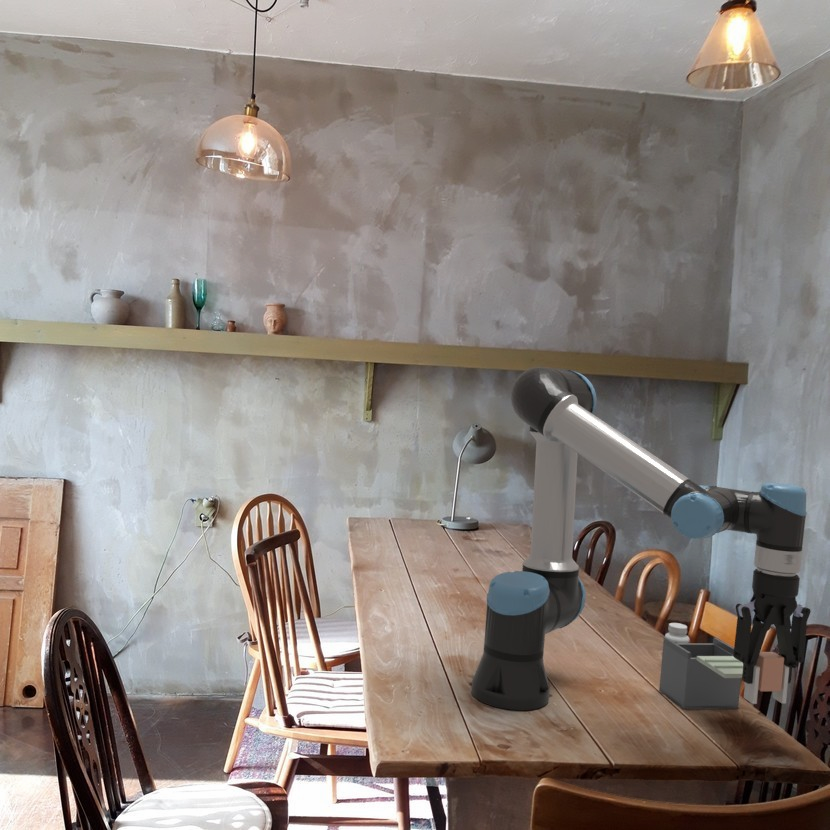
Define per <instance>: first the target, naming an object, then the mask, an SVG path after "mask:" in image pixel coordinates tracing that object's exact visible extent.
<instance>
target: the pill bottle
mask: <svg viewBox="0 0 830 830" xmlns="http://www.w3.org/2000/svg"><path fill="white" fill-rule="evenodd" d="M667 629H668V632H667V633H665V635H664V637H667V638H668V639H670V640H671V641H673V642H674V643H691V641H690V640H691V639H690V637H689V636H688V635H687V633H688V626H687V625H686V624H683V623H679V622H671V623H668V628H667Z"/></svg>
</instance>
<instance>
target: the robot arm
mask: <svg viewBox="0 0 830 830" xmlns="http://www.w3.org/2000/svg"><path fill="white" fill-rule="evenodd" d="M511 387H512V388H511V391H510V401H511V406H512V409H513V412H514V413H515V414H516V416H517V417H518V418H519V419H520V420H521V421H522V422H523V423H525V424H526V425H528V426H529V434H530V435H531V436H532V437H533V438H534V439H535V441H536V443H535V445H536V446H535V461H534V462H535V465H534V481H533V483H534V484H533V503H532V519H531V520H532V521H531V541H530V554H529V555H528V556H527V557H526V559H524V560H523V561H522V569H521V570H515V571H505V572H502V573H499V574H497V575H495V576H494V577H493V578H492V579H491V580H490V582H489V584H488V592H487V595H486V610H485V611H486V613H485V627H484V642H483V643H484V644H483V651H482V652H483V653H482V656H481V657H480V660H479V662H478V665H477V667H476V670H475V673H474V675H473V677H472V679H471V694H472V696H474V698H475V699H477V700H478V701H480V702H481V703H483V704H486V705H489V706H492V707H495V708H498V709H499V708H500V709H505V710H513V711H531V710H536V709H541V708H543V707H545V706H547V705H548V703H549V701H550V690H551V689H550V684H549V681H548V676H547V672H546V671H547V670H546V668H545V664H544V663H545V662H544V650H545V642H546V641H545V638H546V635H547V634H549V633H551V632H553V631H555V630H558V629H562V628H565V627H567V626H569V625H570V624H572V622H573V621H575V620H577V619H578V617H579V616H580V615H581V614H582V612H583V610H584V607H585V605H586V598H587V596H586V590H585V589H586V588H585V586H584V583H583V582H582V581H581V579H580V577H579V576H580V575H579V572H580V567H579V564H577V562H576V561H575V560H574V558H573V546H574V545H573V544H574V528H575V527H574V526H575V511H576V510H575V509H576V491H577V490H576V489H577V476H578V475H577V472H578V454H579V455H580V456H581V457H583V458H584V459H585V460H587V461H588V462H590V464H592V465H593V466H595V467H597V468H598V469H600V470H601V471H602V472H604V473H605V474H606V475H608V476H609V477H611V478H612V479H614V480H615V481H617V482H618V483H619V484H621V485H623V486H624V487H625V488H626V489H628V490H629V491H630V492H632V493H633V494H635V495H636V496H638V497H639V498H641V499H642V500H643V501H645V502H646V503H648V504H649V505H650V506H652V507H654V508H655V509H656V510H658V511H659V512H660V513H662V514H664V516H667V518H669V519H670V520H671V522H672V525H673V526H674V528H675V529H676V531H677V532H678V533H679V534H681V535H682V536H683V537H686V538H689V539H692V540H693V539H698V540H700V539H706V538H711V537H713V536H714V535H716V534H719V533H721V532H724V531H731V532H733V531H734V532H739V533H746V534H754V535H756V543H755V551H754V560H753V565H754V567H756V568H755V569H754V570H753V574H752V583H751V587H752V593H753V594H752V596H751V599H750V601H749V602H747V603H745V604H741V603H737V604H736V605H735V611H736V615H737V619H736V629H735V637H734V645H733V648H734V654H733V656H734V658H736V659H737V660H739V661H741V662H742V663H743V673H742V678H741V681H742V682H744V690H743V699H744V700H746V701H747V702H750V703H751V704H752V705H757V704H758V693H759V690H758V684H759V673H760V667H758V666H757V665H756V663H757V660H758V657H759V654H760V652H762V648H763V644H764V641H765V638H766V635H767V633H768V631H770V630H771V628H772V627H771V626H774V627H775V632H776V638H777V646H778V647H777V648H778V653H779V654H778V655H780V656H782V657H784V665H783V676H782V686H781V691H772V699H773V700H775V701H777V702H779V703H781V704H782V705H783V704H787V698H788V697H787V696H788V684H791V682H792V677H793V676H792V675H793V669H796V668H797V667H798V663H800V664H802V663H804V661H805V652H806V651H805V650H806V649H805V648H806V637H807V624H808V620H809V617H810V615H811V611H812V610H811V609H810V608H809V607H808V606H807V607H806V606H803V605H801V604H798V602H797V597H798V595H799V588H800V579H801V577H800V576H799V575H798V574H799V573H800V572H801V565H802V559H803V558H802V557H803V545H804V535H805V525H806V517H807V514H808V513H807V491H806V489H805V488H803V487H801V486H799V485H796V484H790V483H779V482H764V483H763V484H762V485H761V487H760V490H759V491H747V490H739V489H734V488H727V487H721V486H717V485H702V484H701V485H699V484H697V483H696V482H694V481H693V480H691V479H690V478H689V477H687V476H686V475H684V474H683V473H681V472H679V471H678V470H677V469H675V468H674V467H672V466H671V465H669V464H667V463H666V462H665V461H663V460H662V459H661V458H659V457H657V456H655V454H653V453H651V452H650V451H648V450H647V449H645V448H644V447H643V446H641V445H639V443H636V442H635V441H633V440H632V439H631V438H629V437H627V436H626V435H624V434H623V433H622V432H620V431H619V430H617V429H616V428H614V427H613V426H612V425H610V424H608V423H607V422H605V421H603V420H602V419H601V418H599V417H598V416H596V415H595V414H594V413H595V411H596V409H597V393H596V389H595V387H594V385H593V383H592V381H590V380H589V379H588V378H587V377H586V376H585V375H583V374H581V373H580V372H577V371H574V370H572V369H566V368H553V367H547V366H536V367H531V368H529V369H527V370H525V371H523V372H522V373H520V374H519V376H518V377H517V378H516V380H515V381H514V382H513V385H512V386H511Z"/></svg>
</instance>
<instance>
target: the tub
mask: <svg viewBox="0 0 830 830" xmlns="http://www.w3.org/2000/svg"><path fill="white" fill-rule="evenodd" d="M661 653H662V656H661V664H660V665H661V666H660V675H659V678H660V679H659V690H658V691H659V692H660V693H661V694H662V695H664V696H665V697H666V698H667V699H669V700H670V701H672V702H673V703H674V704H676V705H677V706H679V707H680V708H681V709H682V710H732V709H733V710H734V709H735V710H736V709H737V710H738V709H739V703H740V692H741V681H742V678H724V677H722V676H720V675H719V674H717V673H716V672H714V671H713V670H711V669H710V668H708V667H706V666H705V665H703V664H702V663H700V662H699V661H697V660H696V659H697V656H733V654H734V646H731V645H730V644H728V643H726V642H725V641H722V640H721V639H719V638H717V637H713V641H712V643H711V642H709V643H708V642H707V643H706V642H705V643H704V642H703V643H701V642H700V643H691V642H690V643H674V642H673V641H671V640H670V639H668V638H667V637H665V636H664V637H663V644H662V652H661Z"/></svg>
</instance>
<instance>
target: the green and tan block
mask: <svg viewBox="0 0 830 830" xmlns="http://www.w3.org/2000/svg"><path fill="white" fill-rule="evenodd" d="M696 660H697V661H699V662H700V663H702V664H703V665H705V666H706V667H708V668H710V669H711V670H713V671H714V672H716V673H717V674H719V675H720V676H722V677H724V678H741V679H742V673H743V663H742V662H741V661H739V660H737V659H736V658H734V656H697V659H696ZM756 665H757V666H758V667H760V673H759V684H758V691H760V692H773V691H781V686H782V676H783V665H784V657H782V656H780V655H779V654H778V653H776V652H775V651H760V654H759V657H758V660H757V663H756Z"/></svg>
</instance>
